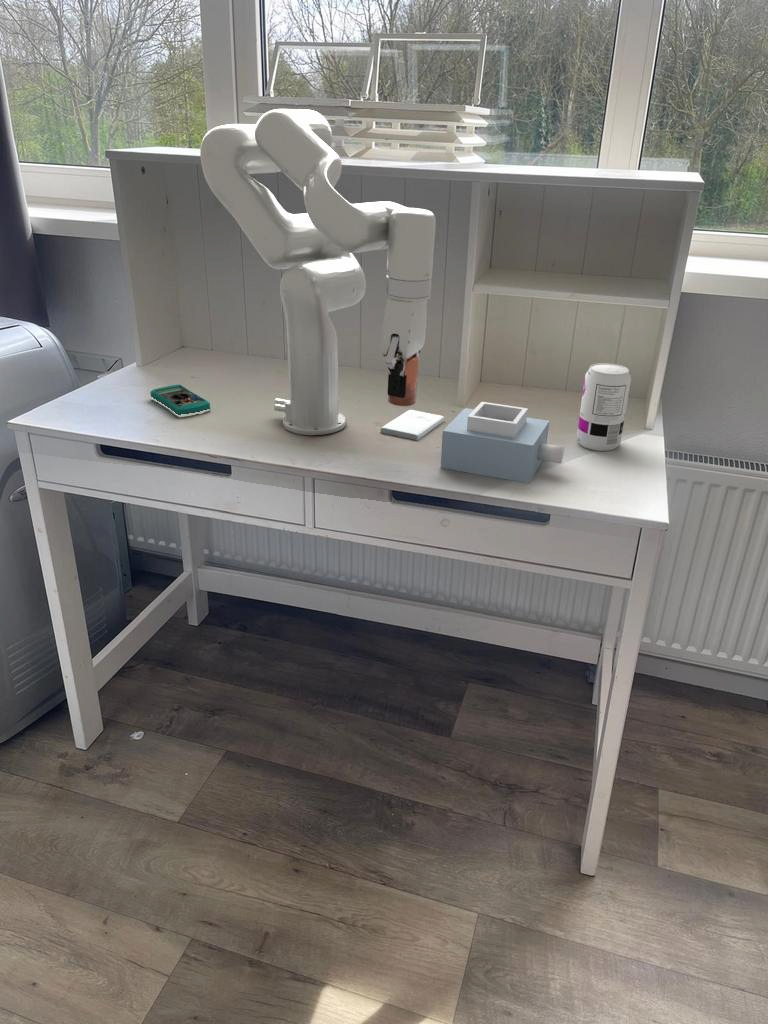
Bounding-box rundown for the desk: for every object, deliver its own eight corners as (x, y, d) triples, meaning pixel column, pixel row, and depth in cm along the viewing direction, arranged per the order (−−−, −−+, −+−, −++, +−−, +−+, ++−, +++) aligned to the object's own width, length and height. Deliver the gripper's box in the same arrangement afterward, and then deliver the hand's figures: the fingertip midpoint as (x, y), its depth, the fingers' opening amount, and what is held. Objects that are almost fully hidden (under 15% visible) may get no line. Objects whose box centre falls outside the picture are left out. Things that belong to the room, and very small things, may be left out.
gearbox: (440, 467, 139) (443, 417, 135) (462, 442, 150) (465, 395, 146) (552, 487, 133) (558, 435, 128) (566, 460, 143) (573, 411, 139)
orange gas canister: (383, 402, 139) (386, 348, 134) (394, 394, 143) (397, 341, 138) (410, 407, 137) (413, 353, 132) (419, 399, 141) (423, 346, 137)
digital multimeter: (180, 421, 159) (178, 407, 158) (150, 401, 169) (148, 388, 168) (212, 414, 163) (211, 400, 162) (181, 395, 174) (180, 382, 172)
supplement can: (567, 443, 151) (577, 367, 144) (591, 433, 156) (602, 359, 149) (604, 455, 146) (617, 378, 139) (627, 444, 151) (640, 369, 144)
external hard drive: (380, 434, 155) (408, 415, 164) (417, 442, 151) (444, 423, 161) (380, 427, 154) (408, 408, 164) (417, 434, 150) (444, 415, 160)
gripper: (405, 276, 139) (400, 374, 147) (367, 294, 125) (363, 402, 133) (446, 281, 136) (437, 381, 145) (411, 301, 122) (404, 410, 131)
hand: (402, 390), depth 139 cm, fingers closed on orange gas canister, 5 cm apart
